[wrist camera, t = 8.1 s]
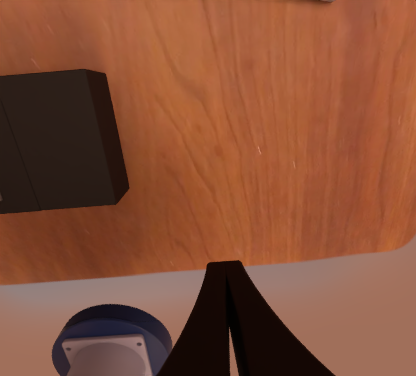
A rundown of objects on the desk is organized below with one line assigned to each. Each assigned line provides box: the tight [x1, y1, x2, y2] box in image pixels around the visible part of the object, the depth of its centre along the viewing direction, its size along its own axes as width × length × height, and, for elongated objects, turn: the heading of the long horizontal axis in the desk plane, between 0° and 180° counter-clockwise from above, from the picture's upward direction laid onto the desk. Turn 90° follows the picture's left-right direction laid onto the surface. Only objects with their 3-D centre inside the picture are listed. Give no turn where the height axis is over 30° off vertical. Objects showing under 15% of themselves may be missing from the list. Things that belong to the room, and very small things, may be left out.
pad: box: [0, 69, 129, 210], centre depth 16 cm, size 8×5×3 cm, turn 4°
